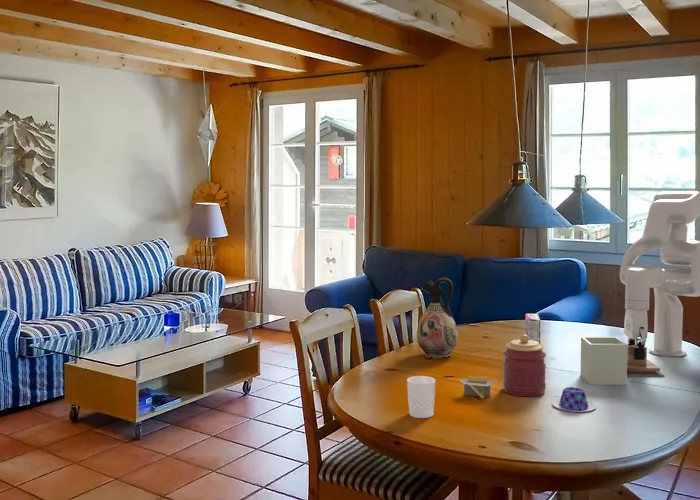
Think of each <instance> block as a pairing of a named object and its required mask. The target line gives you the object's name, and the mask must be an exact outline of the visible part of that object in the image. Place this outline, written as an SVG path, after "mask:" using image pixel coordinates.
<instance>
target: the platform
mask: <svg viewBox="0 0 700 500" xmlns="http://www.w3.org/2000/svg"><path fill="white" fill-rule="evenodd" d="M488 378H489V377H488V376H482V375H481V376H479V375H471V374H470V375H468V376H467V378H461V379H460V382H461V383H462V384H463V387H464V389H463V394H464V395H466V396H476V397H480V398H482V399H485V398H491V386H493V385H494V384H495V381H492V380H488Z"/></svg>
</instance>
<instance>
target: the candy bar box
mask: <svg viewBox="0 0 700 500" xmlns="http://www.w3.org/2000/svg"><path fill="white" fill-rule="evenodd" d="M524 325H525V327H524V329H525V330H524V332H525V333H524V335H527V336H528V337H529V340H534V341H537V342H538V343H539V344H541V318H540V316H539V313H525V315H524Z"/></svg>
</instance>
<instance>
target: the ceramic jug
mask: <svg viewBox="0 0 700 500" xmlns="http://www.w3.org/2000/svg"><path fill="white" fill-rule="evenodd" d="M441 284H446V285H447V286H448V292H447V296H446V299H445V301H444V302H443V299H442V297H441V296H444V295H445V290H444V289H443V288H442V287H441V286H440V285H441ZM420 291H422V292H425V293H428V294H429V295H430V296H431V302H430V303H429V304H428V306H427V307H426V309H425V310H424V311H423V314H422V315H421V317H420V319H419V322H418V325H417V330H416V340H417V341H416V342H417V344H418V346H419V347H420V349H421V350H422V351H423V352H424V355H425V354H426V355H427V356H430V357H435V358H434V359H443V358H442V357H446V358H449V357H448V356H450V355H451V353H452V351H453V350H454V349H455V347H456V346H457V345H458V340H459V333H458V328H457V324H456V321H455V320H454V318H453V316H452V312H451V309H450V303H451V299H452V297H453V294H454V293H453V292H454V284H453V282H452V280H451V279H450V278H448V277H440V278H437V279H436V281H435V282H434V283H433V281H432V280H431V279H430V280H428V281H427V282H425V284H424V285H423V286H422V287H421V288H420ZM450 357H451V356H450Z"/></svg>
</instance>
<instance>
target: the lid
mask: <svg viewBox="0 0 700 500" xmlns="http://www.w3.org/2000/svg"><path fill="white" fill-rule="evenodd" d="M634 348H636V347H635V345H628V347H627V373H654V371H659V372H661V367H659V366H658V365H656V364H655V363H653V362H652V361H651V360H649V359H647V355H648V354H647V353H648V347H647V346H645V355H644V360H635V359H634Z"/></svg>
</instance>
